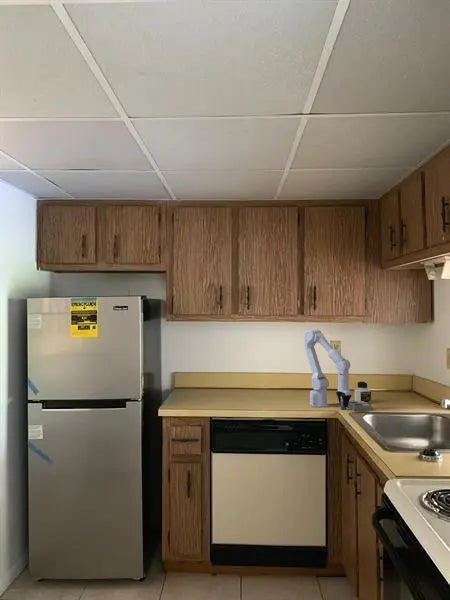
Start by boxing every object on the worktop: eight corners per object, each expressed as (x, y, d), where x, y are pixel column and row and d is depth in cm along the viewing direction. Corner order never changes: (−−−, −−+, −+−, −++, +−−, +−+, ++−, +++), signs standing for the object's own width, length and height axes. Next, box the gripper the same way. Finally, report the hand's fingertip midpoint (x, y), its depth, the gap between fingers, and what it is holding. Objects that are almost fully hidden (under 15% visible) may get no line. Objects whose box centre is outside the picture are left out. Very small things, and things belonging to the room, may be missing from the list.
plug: (341, 409, 271) (341, 397, 271) (340, 408, 274) (340, 396, 274) (347, 409, 272) (347, 397, 272) (345, 408, 275) (345, 396, 275)
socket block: (354, 410, 269) (354, 406, 269) (346, 405, 282) (346, 401, 282) (371, 410, 270) (371, 405, 270) (363, 405, 283) (363, 400, 283)
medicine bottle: (360, 403, 288) (360, 383, 288) (354, 401, 295) (354, 381, 295) (371, 402, 290) (371, 382, 290) (364, 400, 297) (364, 380, 297)
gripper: (354, 383, 266) (355, 408, 266) (346, 379, 281) (346, 402, 281) (342, 383, 265) (342, 408, 265) (334, 379, 280) (334, 403, 280)
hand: (343, 405), depth 273 cm, fingers open, 6 cm apart
